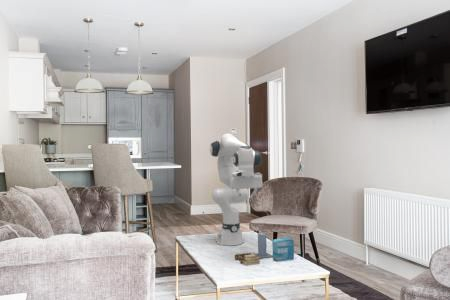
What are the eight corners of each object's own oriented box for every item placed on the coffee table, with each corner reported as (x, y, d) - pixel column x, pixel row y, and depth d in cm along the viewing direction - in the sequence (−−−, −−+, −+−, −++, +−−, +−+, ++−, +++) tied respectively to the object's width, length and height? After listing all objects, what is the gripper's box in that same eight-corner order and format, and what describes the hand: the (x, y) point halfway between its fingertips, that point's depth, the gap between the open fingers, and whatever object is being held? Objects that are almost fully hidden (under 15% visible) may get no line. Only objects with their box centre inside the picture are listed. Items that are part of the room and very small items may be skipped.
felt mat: (250, 255, 278) (250, 254, 278) (266, 253, 282) (266, 252, 282) (257, 259, 269) (257, 258, 269) (274, 257, 273) (274, 256, 273)
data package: (276, 261, 263) (275, 240, 263) (272, 259, 267) (272, 239, 267) (294, 259, 268) (293, 238, 267) (290, 257, 272) (289, 237, 272)
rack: (234, 259, 269) (234, 254, 269) (250, 257, 273) (250, 252, 273) (241, 263, 260) (240, 258, 260) (257, 261, 264) (256, 256, 264)
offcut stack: (242, 263, 260) (242, 255, 260) (256, 261, 263) (256, 254, 263) (245, 265, 256) (245, 257, 255) (260, 263, 259) (259, 255, 259)
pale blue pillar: (258, 254, 278) (257, 233, 278) (262, 254, 279) (262, 232, 279) (261, 256, 273) (261, 234, 273) (266, 256, 274) (266, 234, 274)
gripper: (259, 172, 279) (260, 194, 280) (228, 173, 272) (229, 196, 272) (264, 172, 273) (264, 195, 274) (232, 174, 266) (233, 197, 267)
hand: (246, 196), depth 273 cm, fingers open, 8 cm apart
